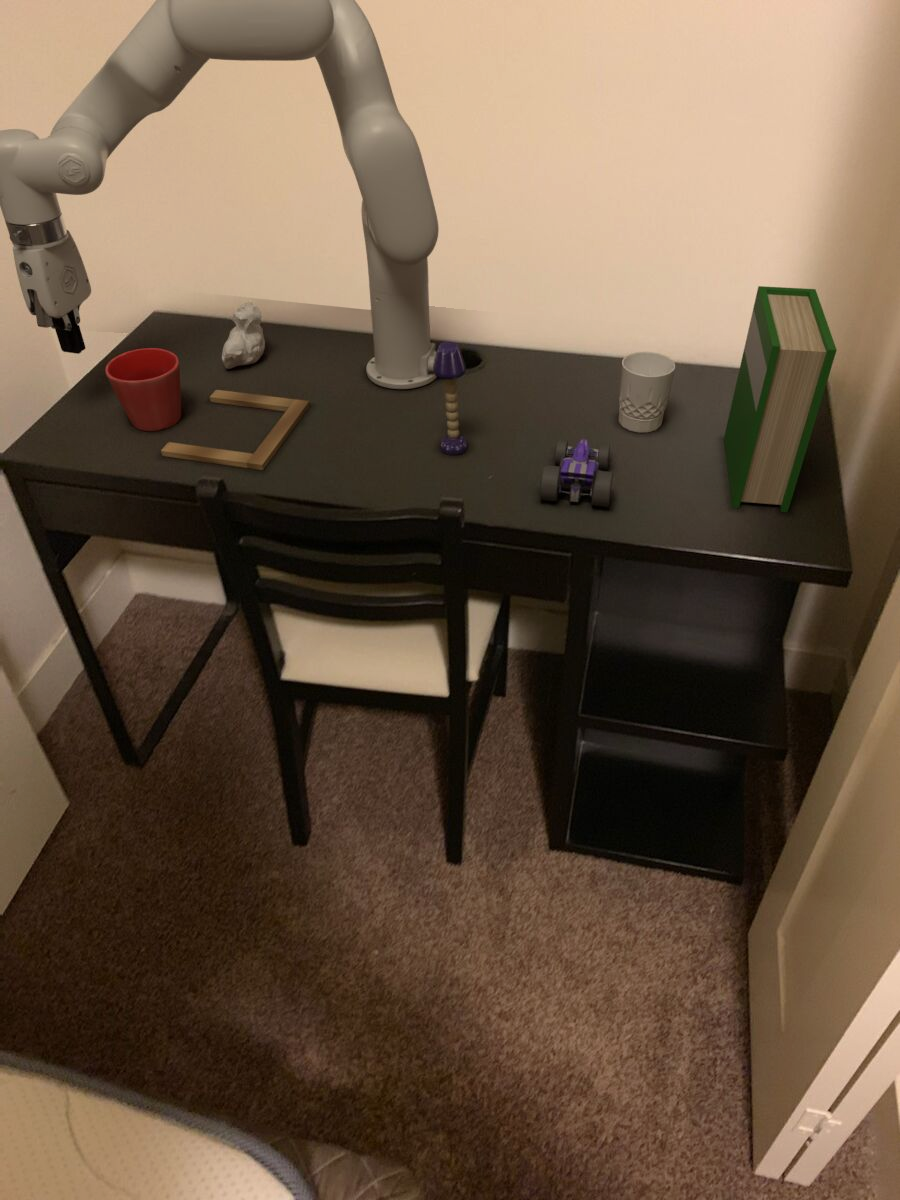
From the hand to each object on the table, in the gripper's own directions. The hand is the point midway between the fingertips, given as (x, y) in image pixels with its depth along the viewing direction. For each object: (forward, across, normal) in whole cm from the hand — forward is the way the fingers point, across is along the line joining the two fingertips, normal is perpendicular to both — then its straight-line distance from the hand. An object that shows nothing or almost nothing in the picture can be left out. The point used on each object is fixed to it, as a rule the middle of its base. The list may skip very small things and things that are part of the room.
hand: (74, 350), depth 138 cm
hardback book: (+10, +7, -104) cm, 105 cm away
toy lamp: (+10, +3, -59) cm, 60 cm away
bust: (+11, +22, -17) cm, 30 cm away
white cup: (+10, +17, -86) cm, 89 cm away
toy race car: (+10, -1, -79) cm, 80 cm away
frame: (+10, 0, -26) cm, 28 cm away
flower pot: (+11, 0, -11) cm, 16 cm away
